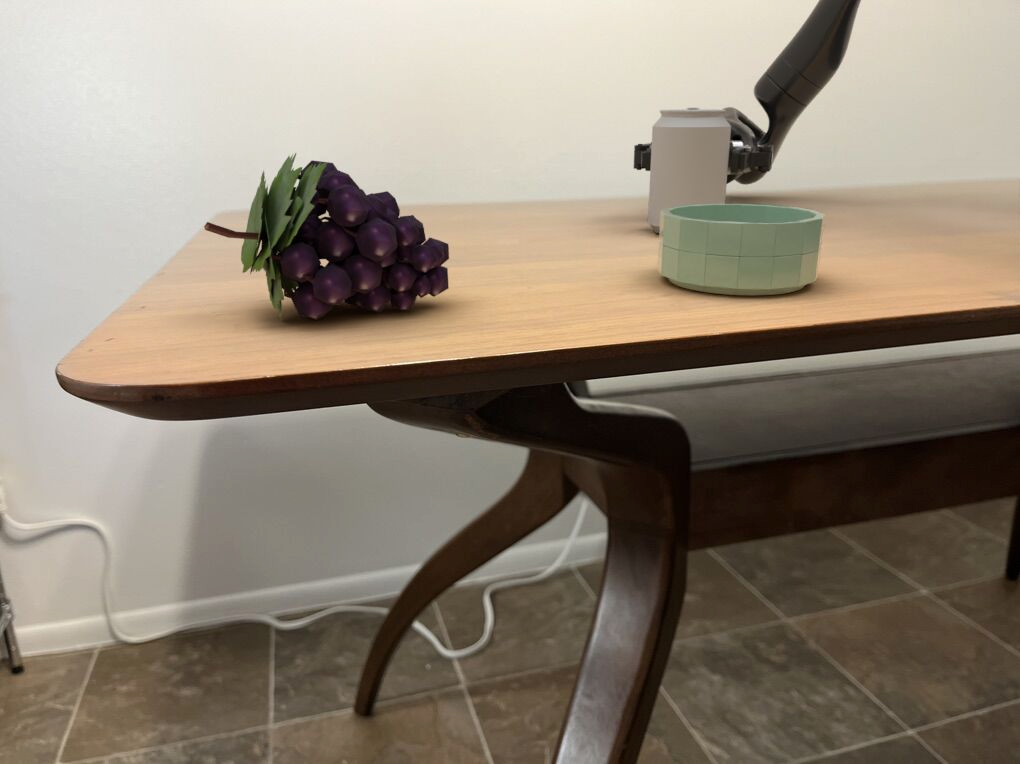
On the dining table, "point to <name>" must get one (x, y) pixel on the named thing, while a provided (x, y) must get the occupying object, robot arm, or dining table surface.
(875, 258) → the dining table surface
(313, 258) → the fruit
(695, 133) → the can
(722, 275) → the bowl
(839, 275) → the dining table surface
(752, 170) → the robot arm
